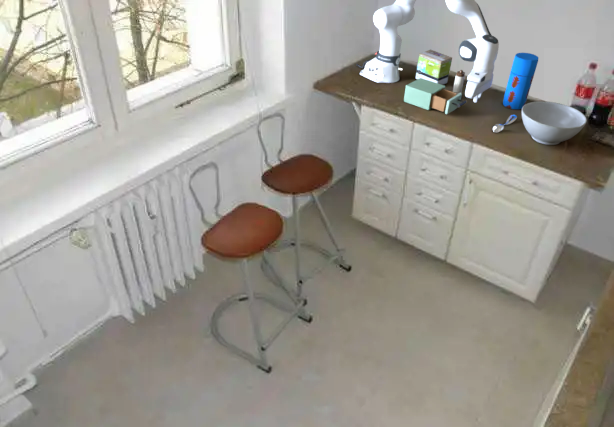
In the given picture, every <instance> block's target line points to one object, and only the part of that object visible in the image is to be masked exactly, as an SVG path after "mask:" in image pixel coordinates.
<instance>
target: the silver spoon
mask: <svg viewBox="0 0 614 427" xmlns="http://www.w3.org/2000/svg"><path fill="white" fill-rule="evenodd" d="M517 118H518V116H517V115H516V114H510V115H509V116H508V118H507V119H506V121H505V123H495V124H494V125H493V126H492V131H493V133H495V134H496V133H499V132H502V131H503V130H504V129H505V126H508V125H511V124H512V123H514V122H515V121H516V120H517Z"/></svg>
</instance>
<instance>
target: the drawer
mask: <svg viewBox="0 0 614 427" xmlns="http://www.w3.org/2000/svg"><path fill="white" fill-rule="evenodd" d="M452 91H453V90H449V89H446V88H445V89H442V90H440V91H438V92H436V93H435V94H433V95H432V98H431V103H430V107H431V109H434V110H437V111H440V112H444V115H449V114H450V113H452V112H453V111H455V110H456V109H458V108H460V107H462V106H464V105H465V104H467V100H462V96H463V93H459V94H458V95H457V93H455V92H452Z"/></svg>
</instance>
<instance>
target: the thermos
mask: <svg viewBox="0 0 614 427" xmlns="http://www.w3.org/2000/svg"><path fill="white" fill-rule="evenodd" d="M538 64H539V56H538V55H536V54H534V53H530V52H517V53H515V56H514V58H513V61H512V65H511V69H510V72H509V76H508V80H507V83H506V86H505V91H504V95H503V100H502V105H503V106H504V107H505V108H508V109H512V110H522V107H523V106H524V105H525V104H527V101H528V97H529V93H530V90H531V86H532V83H533V81H534V80H533V79H534V76H535V73H536V70H537V66H538Z"/></svg>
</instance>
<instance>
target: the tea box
mask: <svg viewBox="0 0 614 427" xmlns="http://www.w3.org/2000/svg"><path fill="white" fill-rule="evenodd" d="M452 62H453V57H452V56H450V55H447V54H444V53H441V52H438V51H436V50H432V49H428V50H425V51H422V52H420V53H419V54H418V60H417V66H416V72H415V79H416V80H417V79H419V78H422V79H425V80H428V81H432V82H435V83H438V84H441V85H445V84H447V83H448V81H449V77H450V72H451V66H452Z"/></svg>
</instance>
